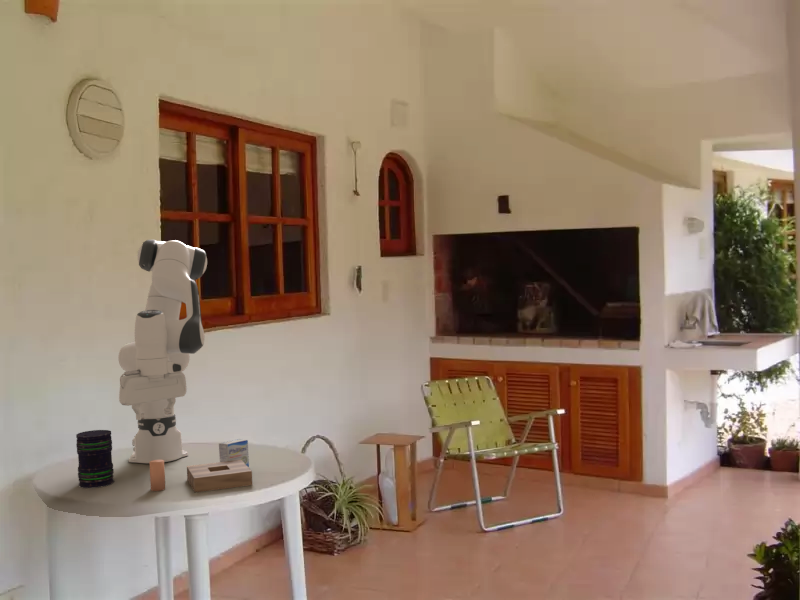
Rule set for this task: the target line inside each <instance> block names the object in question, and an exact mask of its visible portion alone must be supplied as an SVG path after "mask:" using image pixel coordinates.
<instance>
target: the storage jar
mask: <svg viewBox="0 0 800 600" xmlns="http://www.w3.org/2000/svg"><path fill="white" fill-rule="evenodd" d="M75 436H76V454H77V455H78V457H77V458H78V467H77V472H78V473H77V478H78V481H79V483H78V487H79V486H80V487H79V488H82V487H83V489H93V488H95V489H97V488H102V487H101V486H103V487H107V486H110V485H112V484H113V483H114V482H115V479H114V472H115V471H114V463H113V460H112V459H113V457H112V456H113V455H112V451H113V439H112V431H111V430H109V429H94V430H86V431H82V432H78V433H76V434H75ZM106 485H107V486H106Z"/></svg>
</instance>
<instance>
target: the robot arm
mask: <svg viewBox="0 0 800 600" xmlns="http://www.w3.org/2000/svg"><path fill="white" fill-rule="evenodd" d="M137 261H138V266H139V267H140V269H142V270H144V271H146V272H149V273H150V272H151V284H150V287H149V290H148V294H147V299H146V304H145V310H143V311H139V312H138V313H137V314H136V315H135V322H134V341H132V342H128V343H126V344H123V345H122V346H121V348H120V350H119V353H118V363H119V366H120V367H121V369H122V370H124V373H123V374H121V375H120V378H119V394H118V400H119V401H118V402H119V403H120V404H121V405H122V406H131V409H132V410H133V412H134V413H135V418H136V420H137V428H138V431H137V433H135V435H134V437H133V439H132V441H131V443H132V444H131V445H132V448H133V449H132V450H133V452H132V454H131V455H130V456H129V458H128V462H129V463H139V464H149V462H150V461H152V460H164V463H167V462H172V461H176V460H179V459H181V458H184V457H187V456H189V452H188V451H186V450H184V449H183V441H182V440H183V439H182V431H180V430H179V429H178V428H177V427H176V426H177V419H176V414H175V410H174V409H175V408H174V407H175V404H176V398H181V397H182V398H183V397H185V395H186V394H187V380H186V379H187V378H186V376H185V375H186V374H185V373H184V371H185V370H186V369H187V368H188V366H189V364H190V363H189V362H190V354H195V353H197V352H198V351H200V350H201V349H202V347H204V344H205V331H204V327H203V321H202V320H203V319H202V309H201V301H200V292H199V289H198V288H199V287H198V285H197V282H196V280H198V279H200V278H201V277H203V275H204V273H205V272H206V270H207V268H208V267H207V265H208V258H207V253H206V251H205V250H204V249H201V248H199V247H193V246H191V245H188V244H187V245H186V244H185V243H184V242H182V241H180V240H176V239H175V240H171V239H170V240H168V241H164V240H163V241H162V240H156V239H146V240H145V241H143V242H142V244H141V245H140V246H139V248H138V251H137ZM182 303H183V304H185V307H186V309H185V310H186V317H185V318H181V319H180V313H181V308H182Z"/></svg>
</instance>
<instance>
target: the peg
mask: <svg viewBox="0 0 800 600" xmlns="http://www.w3.org/2000/svg"><path fill="white" fill-rule="evenodd" d="M148 464H149V477H150V478H149V479H150V480H149V481H150V491H151V492H161V491H164V490H166V473H165V472H166V469H165V462H164V460H152V461H150V462H149V463H148Z"/></svg>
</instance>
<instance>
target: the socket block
mask: <svg viewBox="0 0 800 600" xmlns="http://www.w3.org/2000/svg"><path fill="white" fill-rule="evenodd" d="M186 474H187V475H186V479H187V481H188V483H189V485H190V487H191V489H192V490H193V491H194V493H201V492H211V491H218V490H224V489H231V488H241V487H247V486H253V470H251V468H249V467H248V466H247V465H246V464H245V463H244V462H243V461H242V460H234V461H225V462H220V461H219V462H209V463H203V464H193V465H187V466H186Z"/></svg>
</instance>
